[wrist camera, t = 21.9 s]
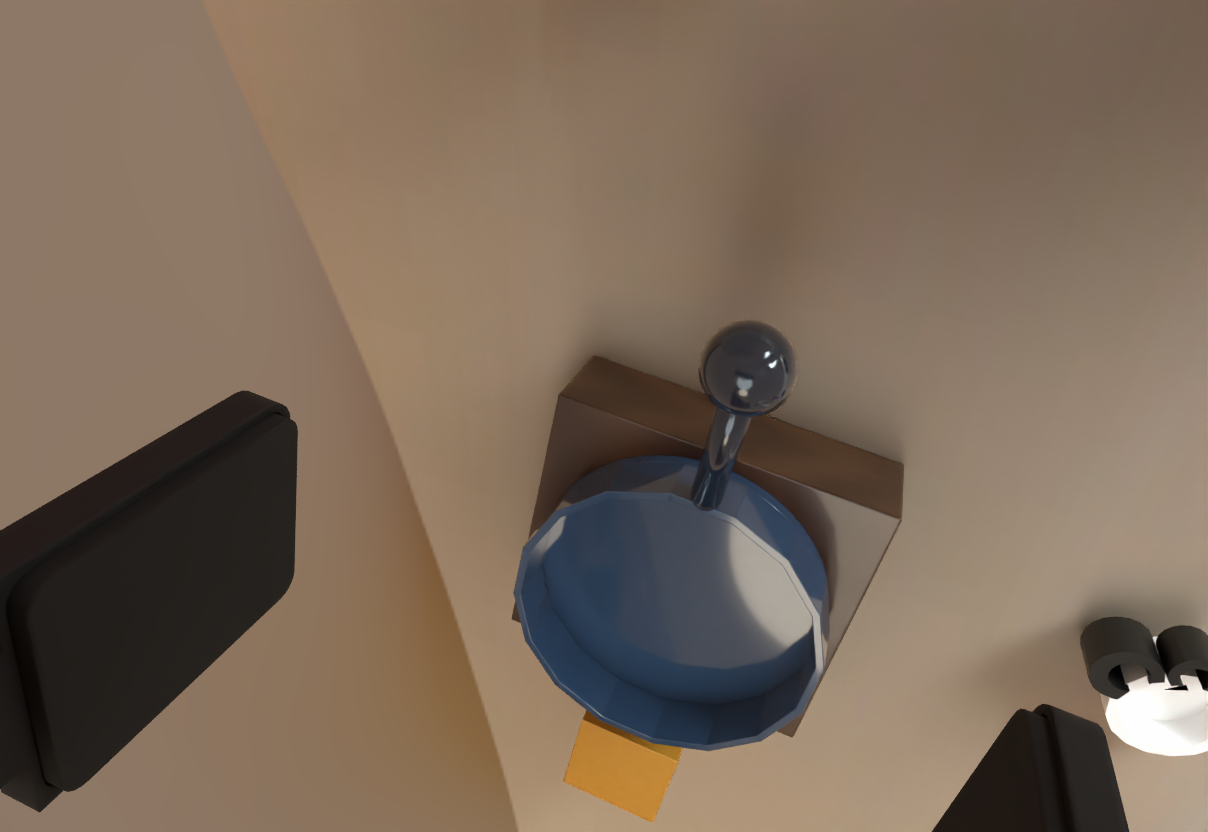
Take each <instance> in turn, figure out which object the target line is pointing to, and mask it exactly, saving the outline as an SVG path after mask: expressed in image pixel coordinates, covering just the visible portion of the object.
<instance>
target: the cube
mask: <svg viewBox="0 0 1208 832" xmlns="http://www.w3.org/2000/svg"><path fill="white" fill-rule="evenodd" d="M682 749H683V748H682V747H675V746H668V745H660V744H653V743H650V742H648V741H646V740H643V739H641V738H639V737H637V736H634V735H632V734H630V733H627V732H625V731H623V730H621V729H618V728H616V727H614V726H611V725H609V724H607V723H605V722H602V721H600V720H598V719H597V718H596V717H595V716H593V715H592V714H591V713H590V712H588V711H586V713H585V715H584V717H583V720H582V723H581V726H580V729H579V732H578V735H577V739H576V742H575V745H574V748H573V751H572V755H571V758H570V761H569V764H568V767H567V771H566V774H565V777H564V782H566V783H568V784H570V785H572V786H574V787H576V788H578V789H581V790H583V791H585V792H587V793H589V794H591V795H594V796H596V797H598V798H600V799H602V800H604V801H606V802H609V803H611V804H613V805H615V806H617V807H619V808H622V809H624V810H626V811H628V812H630V813H632V814H634V815H637V816H639V817H641V818H643V819H645V820H647V821H649V822H653V821H654V819H655V816H656V814H657V811H658V809H659V807H660V804H661V802H662V799H663V797H664V795H665V792H666V790H667V788H668V785H669V783H670V780H671V778H672V776H673V773H674V771H675V769H676V766H677V764H678V761H679V758H680V755H681V752H682Z"/></svg>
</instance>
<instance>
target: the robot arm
mask: <svg viewBox="0 0 1208 832" xmlns="http://www.w3.org/2000/svg"><path fill="white" fill-rule="evenodd" d="M297 437H298V431H297V425H296V423H295V422H294V421H293V420H291V419H290V413H289V411H288V409H287V407H286V406H284V405H282V404H280V403H278V402H275V401H272V400H270V399H267V398H265V397H262V396H260V395H257V394H255V393H252V392H250V391H240V392H237V393H235V394H233V395H231V396H230V397H228V398H227V399H225V400H223V401H221V402H220V403H218V404H216V405H214V406H213V407H211V408H209V409H207V410H206V411H204V412H203V413H201V414H199V415H197V416H196V417H194V418H192V419H191V420H189V421H187V422H185V423H184V424H182V425H180V426H178V427H177V428H175V429H173V430H172V431H170V432H168V433H167V434H165V435H163V436H161V437H160V438H158V439H156V440H154V441H153V442H151V443H149V444H148V445H146V446H144V447H142V448H141V449H139V450H137V451H136V452H134V453H132V454H130V455H129V456H127V457H126V458H124V459H122V460H120V461H119V462H117V463H115V464H113V465H112V466H110V467H108V468H107V469H105V470H103V471H101V472H100V473H98V474H96V475H95V476H93V477H91V478H89V479H88V480H86V481H84V482H83V483H81V484H79V485H78V486H76V487H74V488H72V489H71V490H69V491H67V492H65V493H64V494H62V495H60V496H59V497H57V498H55V499H54V500H52V501H50V502H49V503H47V504H45V505H43V506H42V507H40V508H38V509H36V510H35V511H33V512H31V513H30V514H28V515H26V516H24V517H23V518H21V519H19V520H18V521H16V522H14V523H12V524H11V525H9V526H7V527H6V528H4V529H2V530H0V789H1V791H2V793H4V794H6V795H8V796H10V797H12V798H13V799H15V800H18V801H19V802H21V803H23V804H25V805H27V806H29V807H31V808H32V809H34V810H36V811H38V812H41V811H42V810H43V809H44V808H45V807H46V806H47V805H48V804H49V803H50V802H51V801H53V800H54V799H55V798H56V797H57V796H58V795H59V794H60V793H61V792H62V791H63V790H64V791H67V792H69V791H74V790H76V789H77V788H79V787H81V786H82V785H84V784H85V783H86V782H87V781H89V780H90V779H91V778H92V777H93V776H94V775H95V774H96V773H97V772H98V771H99V770H100V769H101V768H102V767H103V766H104V765H105V764H107V763H108V762H109V761H110V759H112V758H113V757H114V756H115V755H116V754H117V753H118V752H119V751H120V750H121V749H122V748H123V747H124V746H126V745H127V744H128V743H129V742H130V741H131V740H132V739H133V738H134V737H135V736H136V735H137V734H138V733H139V732H140V731H141V730H142V729H143V728H145V727H146V726H147V725H148V724H149V723H150V722H151V721H152V720H153V719H154V718H155V717H156V716H157V715H158V714H159V713H160V712H161V711H162V710H163V709H165V707H167V706H168V705H169V704H170V703H171V702H172V701H173V700H174V699H175V698H176V697H177V696H178V695H179V694H180V693H182V692H183V690H185V689H186V688H187V687H188V686H189V685H190V684H191V683H192V682H193V681H194V680H195V679H196V678H197V677H198V676H199V675H201V673H203V672H204V671H205V670H206V669H207V668H208V667H209V666H210V665H211V664H212V663H213V662H214V661H215V660H216V659H217V658H218V657H219V656H221V655H222V654H223V653H224V652H225V651H226V650H227V649H228V648H229V647H230V646H231V645H232V644H233V643H234V642H235V641H236V640H237V639H238V638H240V637H241V636H242V635H243V634H244V633H245V632H246V631H247V630H248V629H249V628H250V627H251V626H252V625H253V624H254V623H255V622H256V621H257V620H259V619H260V618H261V617H262V616H263V615H264V614H265V613H266V612H267V611H268V610H269V609H270V608H271V607H272V606H273V605H274V604H276V603H277V602H278V600H280V599H281V598H282V596H283V595H284V594H285V593H286V591H287V590H288V588H289V586H290V584H291V582H292V579H293V576H294V563H295V520H296V478H297ZM932 832H1129V828H1128V824H1127V820H1126V816H1125V812H1124V808H1123V804H1122V800H1121V796H1120V792H1119V788H1118V784H1117V780H1116V776H1115V772H1114V768H1113V764H1112V760H1111V756H1110V752H1109V748H1108V744H1107V740H1106V736H1105V734H1104V731H1103V729H1102V728H1101V727H1100V726H1099V725H1098V724H1097V723H1094V722H1091V721H1089V720H1086V719H1084V718H1081V717H1079V716H1076V715H1074V714H1071V713H1068V712H1066V711H1063V710H1061V709H1058V708H1056V707H1053V706H1051V705H1048V704H1042V705H1040V706H1038V707H1037V708H1036V709H1035V710H1034V711H1033V712H1030V711H1027V710H1025V709H1020V710H1018V711H1016V712H1015V714H1014V715H1013V716H1012V717H1011V719H1010V720H1009V722H1008V723H1007V725H1006V726H1005V727H1004V729H1003V730H1002V732H1001V733H1000V735H999V736H998V737H997V739H996V740H995V742H994V743H993V745H992V746H991V747H990V749H989V750H988V752H987V753H986V755H985V756H984V758H983V759H982V760H981V762H980V763H979V765H978V766H977V768H976V769H975V770H974V772H973V773H972V775H971V776H970V778H969V779H968V780H967V782H966V783H965V785H964V786H963V788H962V789H961V791H960V792H959V793H958V795H957V796H956V798H955V799H954V801H953V802H952V803H951V805H950V806H949V808H948V809H947V811H946V812H945V813H944V815H943V816H942V818H941V819H940V821H939V822H938V824H937V825H936V826H935V828H934V829H933V831H932Z"/></svg>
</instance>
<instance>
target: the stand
mask: <svg viewBox="0 0 1208 832" xmlns="http://www.w3.org/2000/svg"><path fill="white" fill-rule="evenodd" d="M715 409H716V406H715V405H714V404H713V403H712V402H711V401H710V400H709V399H708V397H707V396H706V395H705V394H702V393H699V392H696V391H693V390H690V389H687V388H685V387H682V386H679V385H676V384H673V383H670V382H668V381H665V380H662V379H659V378H656V377H653V376H651V375H648V374H645V373H642V372H639V371H636V370H633V369H631V368H628V367H625V366H622V365H619V364H616V363H614V362H611V361H608V360H605V359H602V358H599V357H596V356H593V357H592V358H591V360H590V361H589V362H588V363H587V364H586V365H585V366H584V367H583V368H582V370H581V371H580V372H579V373H578V374H577V375H576V376H575V377H574V378H573V380H572V381H571V382H570V383H569V384H568V385H567V386H566V387H565V388H564V390H563V391H562V392H561V393H560V394H559V396H558V400H557V405H556V410H555V415H554V419H553V424H552V429H551V434H550V438H549V443H548V448H547V453H546V457H545V462H544V467H543V472H542V476H541V481H540V486H539V491H538V495H537V500H536V505H535V510H534V514H533V519H532V524H531V529H530V533H529V538H530V537H531V536H532V534H533V533H534V532H535V530H536V529H537V527H538V526H539V525H540V523H541V522H542V520H543V519H544V518H545V517H546V515H547V514H548V513H549V512H550V511H551V510H552V509H553V507H554V506H555V505H556V504H557V503H558V502H559V500H560V499H561V498H562V496H563V495H564V494H565V492H566V491H567V490H569V489H570V488H571V487H572V486H573V485H574V483H575V482H577V481H578V480H580V479H581V478H583V477H584V476H585V475H587V474H588V473H590V472H592V471H594V470H596V469H598V468H600V467H602V466H604V465H606V464H609V463H612V462H615V461H618V460H622V459H627V458H632V457H638V456H650V455H667V456H680V457H686V458H691V459H697V460H700V458H701V455H702V452H703V448H704V445H705V442H706V438H707V435H708V432H709V429H710V425H711V422H712V419H713V415H714V412H715ZM733 472H734V473H737V474H739V475H741V476H743V477H744V478H746V479H748V480H750V481H751V482H753V483H755V484H757V485H758V486H760V487H761V488H762V489H764V490H765V491H766V492H768V493H769V494H771V495H772V496H773V497H775V498H776V499H777V500H778V501H779V502H780V503H781V504H782V505H783V506H784V507H785V508H787V509H788V510H789V511H790V512H791V513H792V515H793V516H794V517H795V518H796V519H797V521H798V522H799V523H800V524H801V525H802V526H803V528H804V529H805V531H806V532H807V534H808V535H809V537H810V538H811V540H812V542H813V543H814V545H815V547H816V549H817V551H818V553H819V556H820V558H821V560H822V562H823V566H824V569H825V572H826V575H827V580H828V586H829V593H830V608H829V622H830V634H829V641H828V648H827V656H826V663H825V669H824V671H823V673H822V675H821V677H820V679H819V681H818V683H817V685H816V687H815V689H814V691H813V693H812V695H811V697H810V699H809V701H808V703H807V705H806V707H805V709H804V711H803V713H802V714H801V715H799V716H798V717H796V718H795V719H793V720H792V721H790V722H789V723H787V724H786V725H784V726H783V727H781V728H780V729H779V730H777V731H778V732H780V733H782V734H785V735H787V736H790V737H793V736H794V734H795V732H796V730H797V728H798V726H799V724H800V722H801V720H802V718H803V716H804V714H805V712H806V710H807V708H808V706H809V704H810V702H811V700H812V698H813V696H814V694H815V692H816V690H817V688H818V687H819V685H820V683H821V681H822V679H823V677H824V675H825V673H826V671H827V669H828V667H829V665H830V663H831V661H832V659H833V657H834V655H835V653H836V651H837V649H838V647H839V645H840V643H841V641H842V639H843V637H844V635H845V633H846V631H847V629H848V627H849V625H850V623H851V621H852V619H853V617H854V615H855V613H856V611H857V609H858V607H859V605H860V603H861V601H862V599H863V597H864V595H865V593H866V591H867V589H868V587H869V585H870V583H871V581H872V579H873V577H874V575H875V573H876V571H877V569H878V567H879V565H880V563H881V561H882V559H883V557H884V555H885V553H886V551H887V549H888V547H889V545H890V543H891V541H892V539H893V537H894V535H895V533H896V531H897V529H898V527H899V525H900V523H901V521H902V506H903V478H904V465H903V464H901V463H898V462H895V461H892V460H889V459H887V458H884V457H881V456H878V455H875V454H872V453H869V452H867V451H864V450H861V449H858V448H855V447H852V446H850V445H847V444H844V443H841V442H838V441H835V440H833V439H830V438H827V437H824V436H821V435H818V434H815V433H813V432H810V431H807V430H804V429H801V428H798V427H796V426H793V425H790V424H787V423H784V422H781V421H778V420H776V419H773V418H770V417H767V416H764V415H762V416H759V417H752V418H751V420H750V423H749V426H748V429H747V432H746V435H745V438H744V440H743V443H742V446H741V449H740V452H739V455H738V458H737V461H736V463H735V466H734V469H733ZM529 538H528V540H529ZM512 619H513V620H515V621H517V622H519V623H521V621H520V617H519V613H518V609H517V605H516V601H515V605H514V609H513V614H512Z"/></svg>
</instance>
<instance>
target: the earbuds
mask: <svg viewBox="0 0 1208 832" xmlns="http://www.w3.org/2000/svg"><path fill="white" fill-rule="evenodd" d="M1080 645H1081V649H1082V653H1083V657H1084V661H1085V665H1086V669H1087V673H1088V677H1089V680H1090V682H1091V684H1092V686H1093V687H1094V688H1095V689H1096V690H1097V691H1098V692H1100V695H1101V699H1102V703H1103V707H1104V711H1105V715H1106V718H1107V721H1108V723H1109V726H1110V729H1111V730H1112V731H1113V732H1114V733H1115V734H1116V735H1117V736H1118V737H1119V738H1120V739H1121V740H1122V741H1123V742H1125V743H1127V744H1129V745H1131V746H1133V747H1136V748H1138V749H1140V750H1142V751H1144V752H1148V753H1154V754H1160V755H1166V756H1182V755H1196V754H1199V753H1202V752H1205V751H1208V635H1207V634H1206V633H1205V632H1203V631H1202V630H1201V629H1198V628H1195V627H1192V626H1183V625H1181V626H1174V627H1171V628H1168V629H1166V630H1164V631H1163V632H1162V633H1160V634H1159V635H1158V636H1155V637H1152V635H1151V633H1150V631H1149V630H1148V629H1147V628H1146V627H1145V626H1144V625H1142V624H1141V623H1139V622H1137V621H1135V620H1132V619H1130V618H1123V617H1108V618H1102V619H1100V620H1097V621H1094V622H1092V623H1091V624H1090V625H1088V626H1087V627H1086V628H1085V629H1084V630H1083V632H1082V634H1081V636H1080Z"/></svg>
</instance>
